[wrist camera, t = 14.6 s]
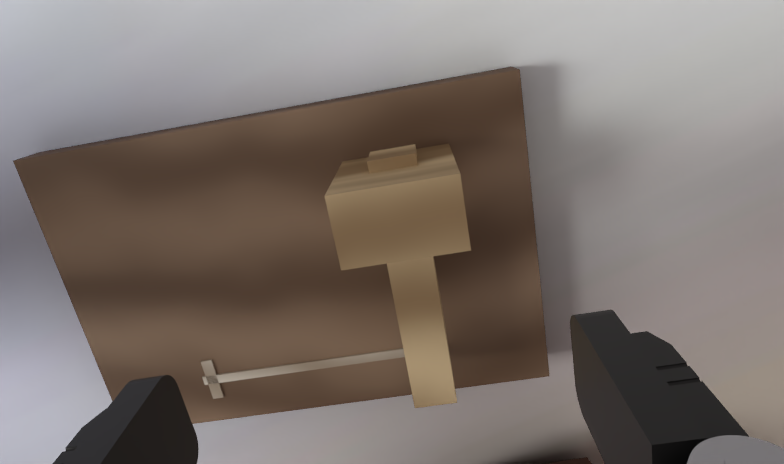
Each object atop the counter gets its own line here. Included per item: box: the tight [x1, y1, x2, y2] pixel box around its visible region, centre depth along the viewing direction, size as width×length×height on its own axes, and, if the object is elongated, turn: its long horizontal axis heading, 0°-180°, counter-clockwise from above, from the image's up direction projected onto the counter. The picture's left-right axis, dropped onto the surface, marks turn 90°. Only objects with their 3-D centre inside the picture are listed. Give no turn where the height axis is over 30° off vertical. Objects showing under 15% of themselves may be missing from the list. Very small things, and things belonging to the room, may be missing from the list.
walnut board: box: [13, 67, 549, 424], centre depth 29 cm, size 16×24×2 cm, turn 100°
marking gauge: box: [325, 143, 471, 408], centre depth 25 cm, size 12×5×6 cm, turn 10°
